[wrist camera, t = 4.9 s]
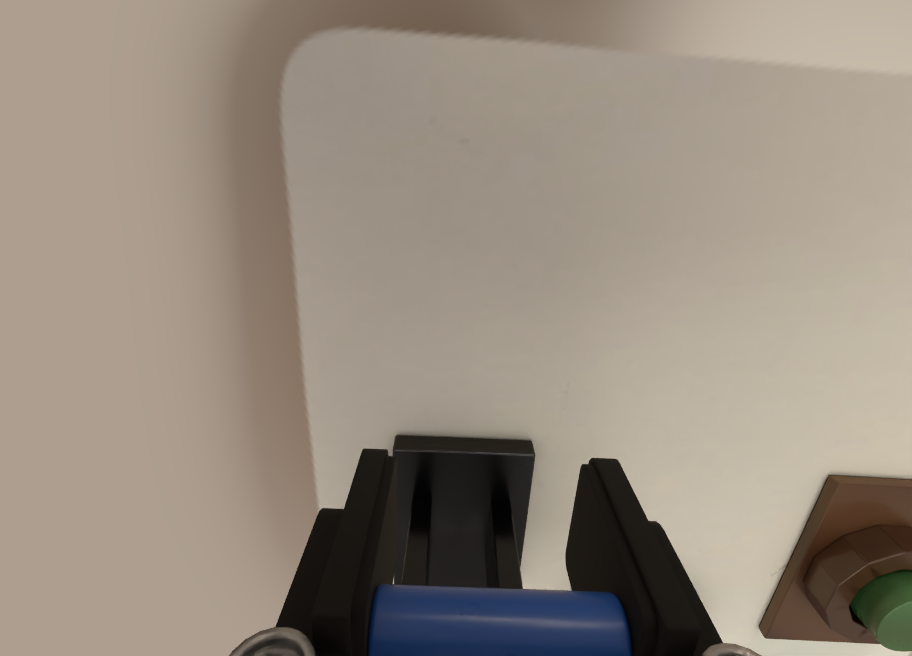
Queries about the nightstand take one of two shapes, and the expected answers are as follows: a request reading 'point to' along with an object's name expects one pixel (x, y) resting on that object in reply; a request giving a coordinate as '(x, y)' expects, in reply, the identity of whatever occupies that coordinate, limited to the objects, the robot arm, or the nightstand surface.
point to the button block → (842, 559)
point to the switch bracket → (461, 510)
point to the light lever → (496, 622)
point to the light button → (887, 609)
